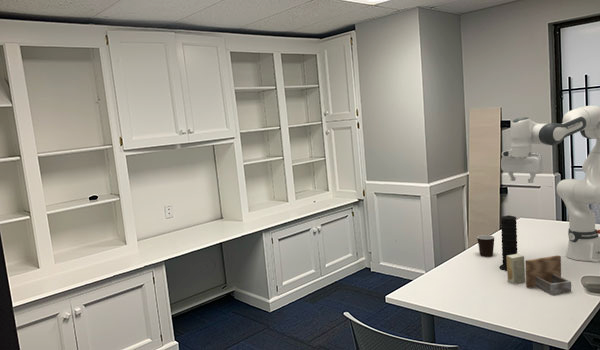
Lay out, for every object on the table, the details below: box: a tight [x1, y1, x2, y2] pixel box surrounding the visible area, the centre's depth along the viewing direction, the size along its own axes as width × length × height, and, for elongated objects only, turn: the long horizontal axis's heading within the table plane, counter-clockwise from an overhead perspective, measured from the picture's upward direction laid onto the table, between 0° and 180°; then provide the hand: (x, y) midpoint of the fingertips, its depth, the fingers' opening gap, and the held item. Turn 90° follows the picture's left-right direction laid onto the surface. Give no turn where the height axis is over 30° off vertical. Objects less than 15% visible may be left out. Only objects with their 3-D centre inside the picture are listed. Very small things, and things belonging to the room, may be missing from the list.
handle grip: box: [498, 214, 518, 272], centre depth 223 cm, size 10×26×10 cm
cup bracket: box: [524, 254, 572, 296], centre depth 196 cm, size 16×12×12 cm
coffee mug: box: [476, 234, 495, 258], centre depth 247 cm, size 12×9×10 cm
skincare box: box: [506, 253, 526, 285], centre depth 207 cm, size 6×4×12 cm
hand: (521, 181), depth 217 cm, fingers open, 8 cm apart
